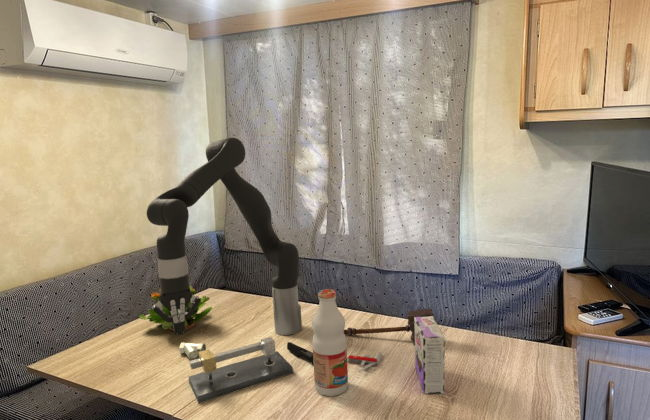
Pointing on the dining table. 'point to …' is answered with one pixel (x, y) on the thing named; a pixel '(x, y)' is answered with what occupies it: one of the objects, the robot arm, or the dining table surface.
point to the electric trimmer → (300, 352)
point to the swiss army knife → (364, 360)
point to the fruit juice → (329, 346)
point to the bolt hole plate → (239, 376)
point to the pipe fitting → (192, 349)
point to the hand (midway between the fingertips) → (179, 334)
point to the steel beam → (242, 352)
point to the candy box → (429, 354)
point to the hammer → (395, 329)
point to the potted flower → (188, 322)
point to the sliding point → (208, 362)
